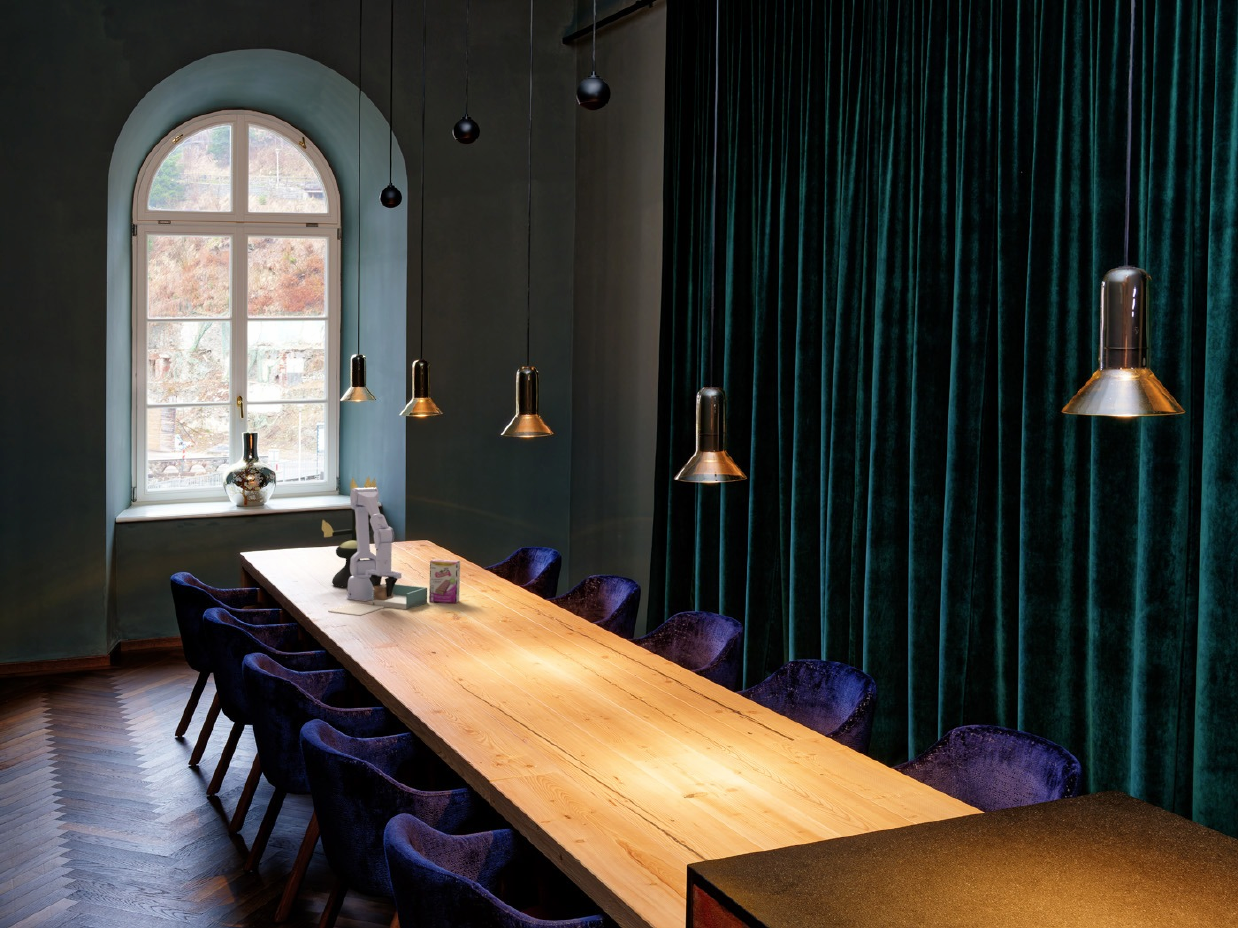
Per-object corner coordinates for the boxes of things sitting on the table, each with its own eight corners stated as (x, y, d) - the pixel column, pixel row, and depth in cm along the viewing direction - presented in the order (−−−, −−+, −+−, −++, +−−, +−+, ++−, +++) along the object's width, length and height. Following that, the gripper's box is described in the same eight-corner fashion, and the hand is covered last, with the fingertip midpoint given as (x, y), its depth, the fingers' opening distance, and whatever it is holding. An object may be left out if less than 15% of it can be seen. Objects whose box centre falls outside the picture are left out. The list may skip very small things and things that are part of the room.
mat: (328, 611, 444) (328, 610, 444) (353, 603, 459) (353, 602, 459) (359, 615, 439) (359, 614, 439) (384, 607, 454) (384, 606, 454)
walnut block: (373, 599, 448) (374, 586, 448) (382, 596, 454) (382, 583, 454) (384, 600, 447) (384, 587, 446) (392, 597, 452) (393, 584, 452)
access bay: (373, 605, 458) (373, 589, 458) (392, 598, 471) (393, 583, 470) (408, 609, 452) (408, 593, 452) (427, 602, 465) (427, 587, 465)
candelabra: (319, 586, 491) (320, 477, 487) (351, 577, 512) (352, 473, 508) (358, 591, 484) (359, 480, 480) (388, 582, 505) (390, 476, 500)
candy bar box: (428, 602, 466) (429, 560, 465) (432, 599, 471) (432, 558, 470) (456, 603, 465) (457, 562, 464) (459, 601, 470) (460, 560, 469)
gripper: (361, 559, 448) (360, 595, 449) (394, 563, 443) (393, 599, 444) (371, 557, 454) (371, 592, 456) (404, 560, 449) (404, 596, 450)
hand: (383, 595), depth 450 cm, fingers closed on walnut block, 4 cm apart
